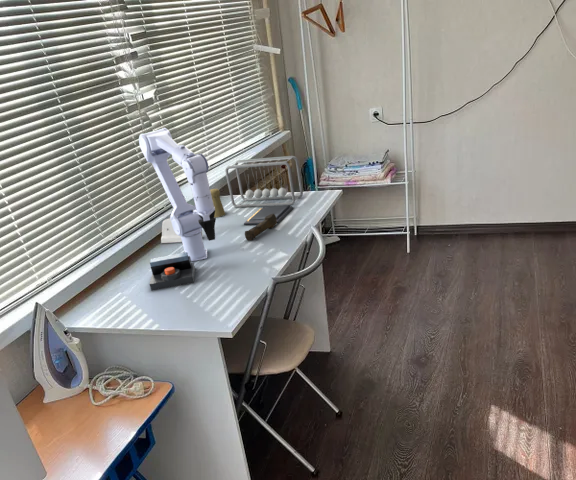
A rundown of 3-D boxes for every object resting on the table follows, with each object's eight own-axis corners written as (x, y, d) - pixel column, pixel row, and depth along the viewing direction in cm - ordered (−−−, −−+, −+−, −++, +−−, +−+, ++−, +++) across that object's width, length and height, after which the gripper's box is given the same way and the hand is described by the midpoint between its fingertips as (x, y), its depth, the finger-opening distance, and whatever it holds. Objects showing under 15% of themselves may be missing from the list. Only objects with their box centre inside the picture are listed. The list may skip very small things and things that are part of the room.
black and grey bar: (154, 271, 205) (150, 258, 202) (192, 264, 205) (188, 251, 202) (153, 275, 201) (149, 262, 199) (191, 268, 201) (188, 255, 199)
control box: (155, 276, 207) (151, 265, 205) (195, 269, 207) (192, 258, 205) (151, 291, 196) (148, 279, 194) (193, 283, 196) (191, 271, 194)
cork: (224, 216, 257) (219, 190, 251) (210, 218, 258) (204, 192, 252) (226, 212, 262) (220, 186, 257) (212, 214, 263) (206, 188, 257)
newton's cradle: (232, 208, 266) (223, 166, 257) (242, 200, 274) (234, 160, 265) (295, 205, 254) (288, 161, 245) (304, 197, 262) (298, 155, 253)
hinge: (160, 243, 238) (157, 216, 236) (166, 243, 243) (164, 217, 240) (198, 241, 233) (196, 214, 231) (204, 240, 237) (201, 214, 235)
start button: (166, 272, 198) (164, 268, 197) (175, 270, 198) (174, 266, 197) (165, 276, 195) (164, 271, 195) (175, 274, 195) (173, 269, 195)
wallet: (276, 219, 235) (241, 220, 241) (277, 224, 236) (242, 225, 242) (294, 203, 250) (260, 205, 256) (294, 207, 251) (261, 209, 257)
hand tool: (253, 241, 222) (251, 229, 220) (245, 240, 225) (243, 228, 222) (282, 224, 235) (280, 212, 233) (274, 223, 237) (272, 212, 235)
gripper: (190, 192, 200) (199, 232, 207) (189, 203, 187) (199, 245, 194) (211, 188, 200) (220, 228, 207) (211, 198, 188) (221, 241, 195)
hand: (211, 236), depth 201 cm, fingers open, 7 cm apart
